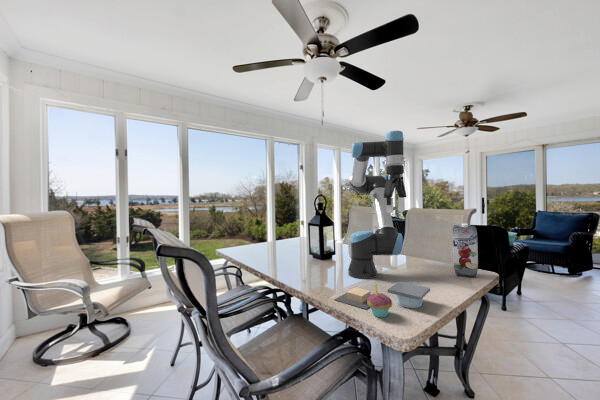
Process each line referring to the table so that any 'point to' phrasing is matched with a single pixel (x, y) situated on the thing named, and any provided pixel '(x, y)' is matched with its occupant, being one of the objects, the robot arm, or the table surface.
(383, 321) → the table surface
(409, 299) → the bowl
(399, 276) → the table surface
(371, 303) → the cupcake
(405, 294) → the sheet
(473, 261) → the juice carton
